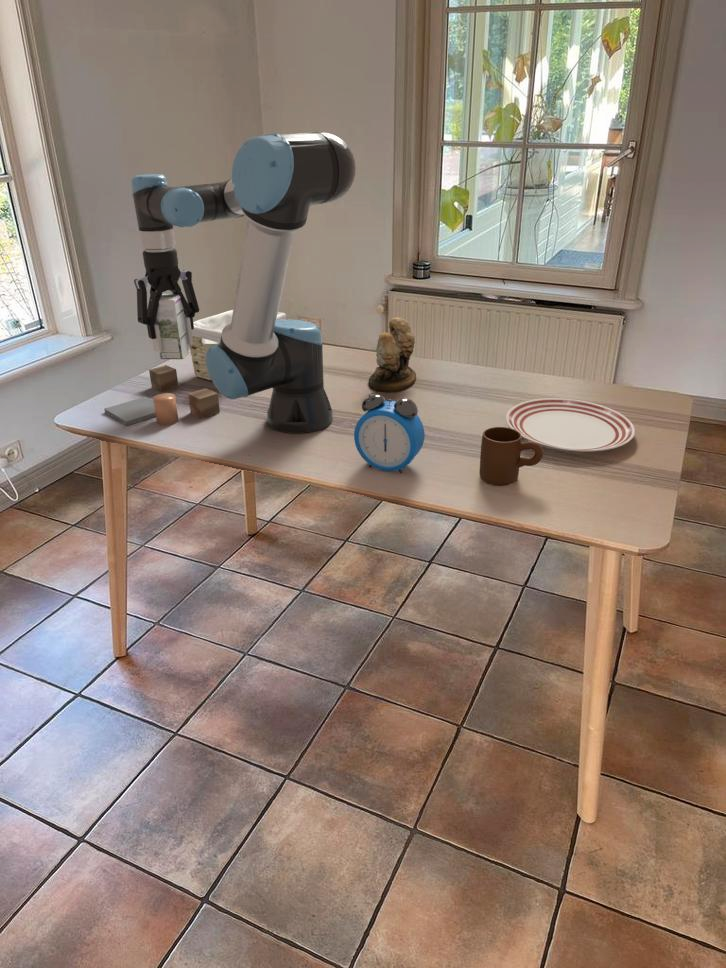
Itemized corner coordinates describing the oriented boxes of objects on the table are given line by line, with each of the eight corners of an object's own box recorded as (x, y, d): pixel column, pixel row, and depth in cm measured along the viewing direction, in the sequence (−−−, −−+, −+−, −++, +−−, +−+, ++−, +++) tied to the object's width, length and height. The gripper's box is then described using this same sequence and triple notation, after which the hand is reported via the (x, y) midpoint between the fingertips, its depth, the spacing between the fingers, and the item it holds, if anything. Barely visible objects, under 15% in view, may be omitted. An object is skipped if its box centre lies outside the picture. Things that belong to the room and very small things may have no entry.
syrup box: (190, 352, 178) (182, 292, 171) (182, 360, 172) (174, 298, 166) (168, 352, 178) (158, 292, 171) (159, 360, 173) (149, 298, 166)
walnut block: (220, 413, 174) (217, 393, 172) (202, 418, 171) (199, 399, 169) (208, 407, 177) (205, 388, 175) (190, 413, 174) (187, 393, 172)
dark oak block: (178, 387, 189) (176, 369, 187) (161, 392, 186) (158, 374, 184) (168, 383, 192) (166, 365, 190) (151, 388, 189) (148, 369, 187)
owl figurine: (381, 367, 201) (381, 306, 192) (422, 372, 197) (425, 309, 189) (361, 390, 185) (360, 324, 177) (405, 395, 182) (407, 328, 174)
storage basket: (249, 354, 213) (244, 304, 206) (292, 364, 204) (288, 312, 197) (188, 378, 195) (181, 324, 188) (232, 390, 187) (226, 334, 180)
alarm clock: (353, 466, 148) (352, 398, 141) (365, 454, 153) (364, 387, 146) (414, 478, 143) (416, 407, 136) (424, 464, 148) (426, 396, 141)
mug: (545, 479, 142) (550, 435, 137) (533, 496, 136) (537, 450, 132) (487, 466, 147) (490, 423, 143) (473, 481, 141) (475, 437, 137)
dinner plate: (645, 424, 165) (647, 410, 163) (615, 473, 144) (618, 458, 143) (528, 402, 177) (530, 389, 176) (485, 444, 157) (487, 430, 155)
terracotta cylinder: (182, 421, 170) (179, 397, 167) (163, 427, 167) (159, 403, 164) (171, 415, 173) (168, 391, 170) (152, 421, 170) (148, 397, 167)
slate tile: (169, 412, 175) (168, 408, 174) (127, 425, 168) (126, 421, 167) (146, 400, 182) (145, 396, 181) (105, 412, 175) (104, 408, 174)
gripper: (189, 240, 172) (202, 335, 183) (108, 253, 160) (127, 354, 170) (207, 244, 167) (218, 341, 178) (125, 257, 155) (143, 360, 166)
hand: (174, 347), depth 174 cm, fingers closed on syrup box, 8 cm apart
